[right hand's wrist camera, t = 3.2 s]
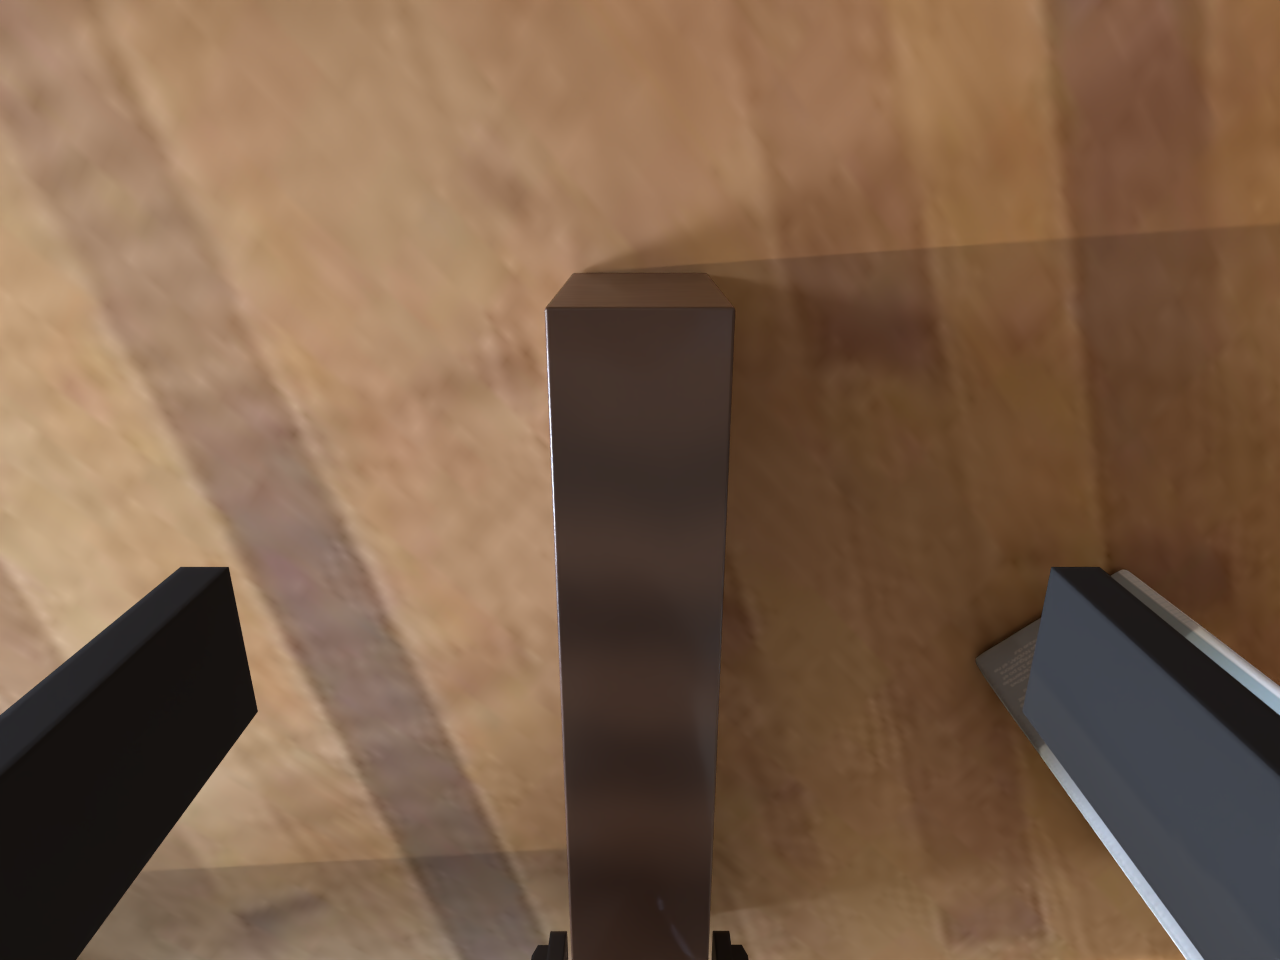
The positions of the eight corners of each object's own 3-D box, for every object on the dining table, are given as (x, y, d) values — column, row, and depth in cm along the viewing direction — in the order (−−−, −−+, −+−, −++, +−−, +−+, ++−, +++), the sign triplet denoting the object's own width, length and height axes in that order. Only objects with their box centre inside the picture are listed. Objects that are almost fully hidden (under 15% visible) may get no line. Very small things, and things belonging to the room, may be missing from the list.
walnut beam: (688, 919, 40) (702, 1113, 32) (590, 919, 40) (577, 1114, 32) (707, 272, 29) (735, 307, 20) (572, 272, 29) (544, 307, 20)
